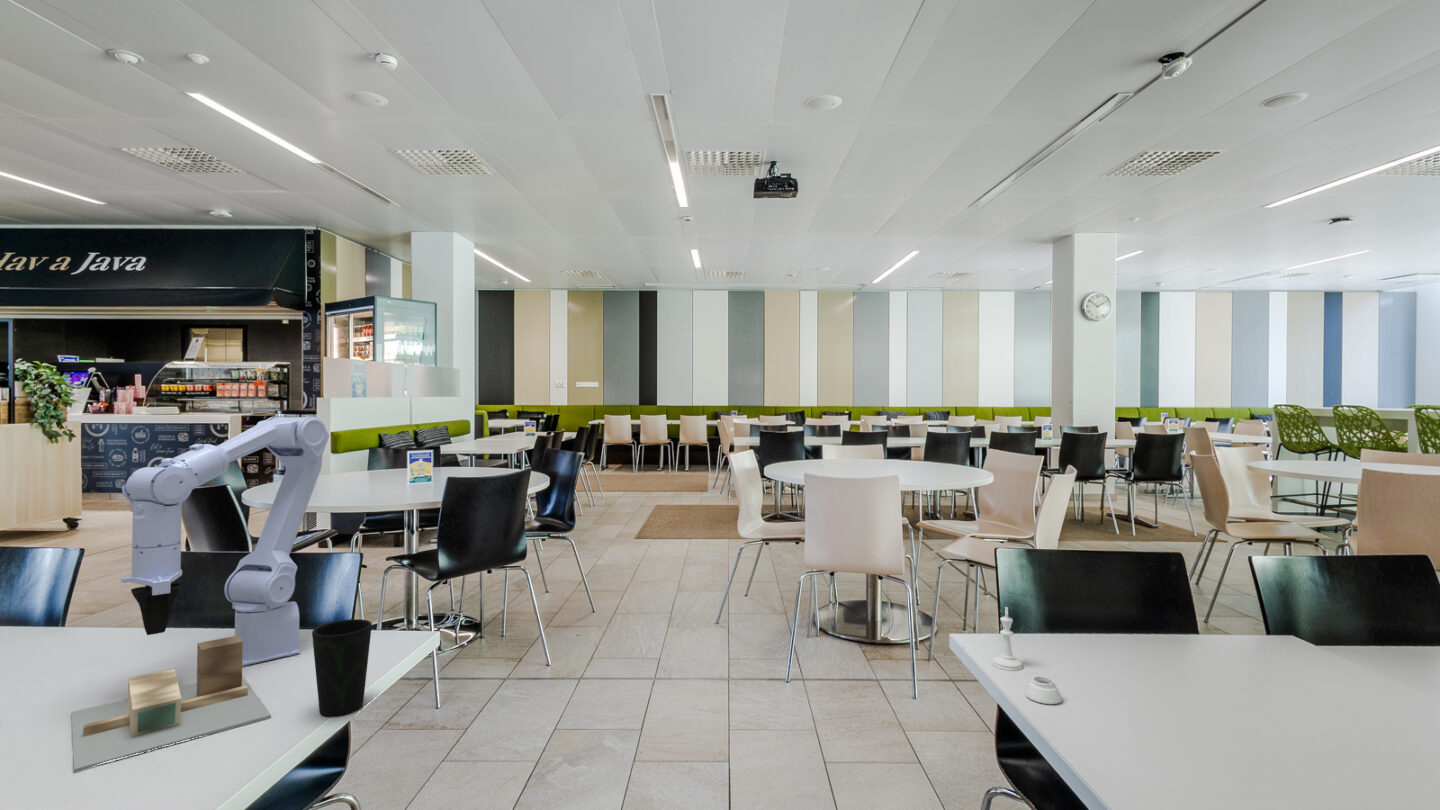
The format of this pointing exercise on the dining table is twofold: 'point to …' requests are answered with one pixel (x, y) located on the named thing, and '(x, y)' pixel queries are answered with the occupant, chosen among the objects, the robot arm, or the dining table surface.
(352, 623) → the cup
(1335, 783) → the dining table surface
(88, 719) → the grey mat
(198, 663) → the walnut block
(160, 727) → the beech block
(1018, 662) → the chess piece
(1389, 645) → the dining table surface
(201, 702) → the oak rail
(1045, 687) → the white jar
